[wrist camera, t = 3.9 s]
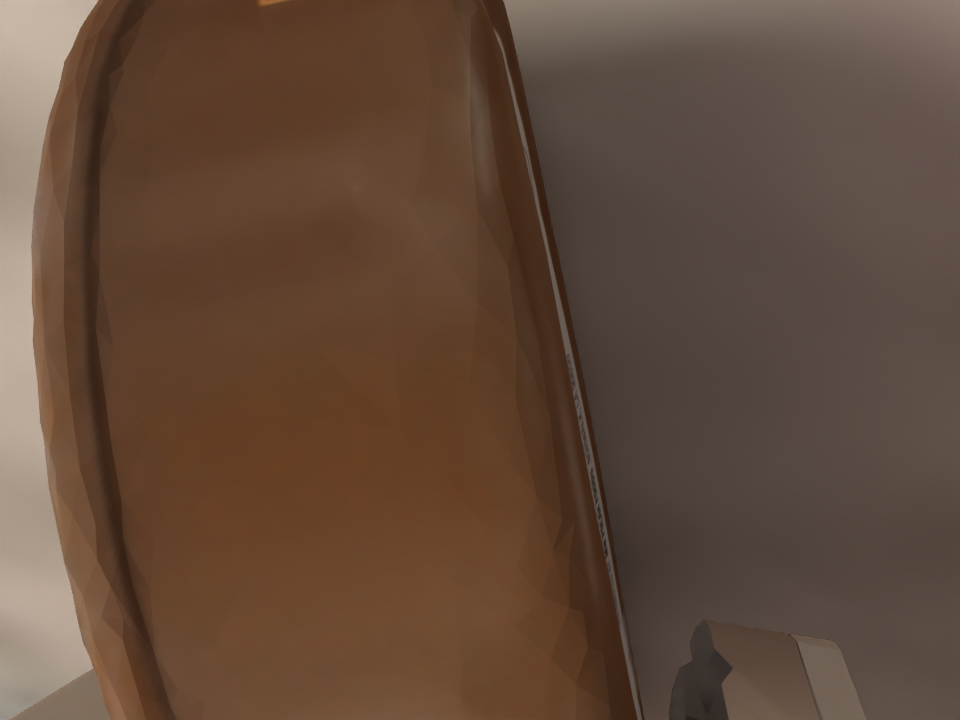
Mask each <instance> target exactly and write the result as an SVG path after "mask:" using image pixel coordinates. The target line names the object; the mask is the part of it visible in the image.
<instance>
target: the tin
mask: <svg viewBox="0 0 960 720" xmlns="http://www.w3.org/2000/svg"><path fill="white" fill-rule="evenodd" d="M33 214H34V215H33V230H32V244H31V249H32V306H33V315H34V327H33V347H34V355H35V364H36V372H37V380H38V394H39V409H40V423H41V428H42V432H43V436H44V445H45V454H46V463H47V473H48V482H49V489H50V494H51V499H52V504H53V509H54V514H55V519H56V523H57V528H58V533H59V538H60V543H61V548H62V553H63V557H64V562H65V566H66V569H67V573H68V577H69V580H70V584H71V589H72V594H73V599H74V604H75V609H76V613H77V618H78V623H79V627H80V631H81V636H82V640H83V643H84V646H85V648H86V650H87V652H88V654H89V656H90V659H91V662H92V665H93V667H94V670H95V673H96V676H97V679H98V683H99V688H100V692H101V697H102V701H103V704H104V706H105V708H106V710H107V713H108V715H109V717H110V720H644V714H643V709H642V703H641V698H640V692H639V687H638V681H637V676H636V671H635V666H634V661H633V656H632V650H631V645H630V639H629V634H628V628H627V623H626V617H625V611H624V606H623V600H622V594H621V589H620V583H619V577H618V571H617V565H616V559H615V553H614V546H613V540H612V534H611V528H610V523H609V517H608V511H607V505H606V499H605V494H604V488H603V482H602V476H601V470H600V465H599V459H598V454H597V448H596V443H595V437H594V432H593V426H592V421H591V416H590V410H589V405H588V400H587V395H586V390H585V385H584V380H583V375H582V369H581V364H580V359H579V354H578V349H577V344H576V339H575V334H574V329H573V324H572V320H571V315H570V310H569V305H568V300H567V295H566V291H565V286H564V281H563V276H562V271H561V267H560V262H559V257H558V252H557V248H556V243H555V239H554V234H553V230H552V225H551V220H550V215H549V210H548V205H547V200H546V195H545V190H544V185H543V180H542V175H541V170H540V165H539V160H538V155H537V150H536V146H535V141H534V136H533V131H532V126H531V121H530V116H529V111H528V106H527V101H526V97H525V92H524V87H523V82H522V77H521V72H520V68H519V63H518V59H517V54H516V50H515V45H514V41H513V37H512V33H511V29H510V25H509V21H508V17H507V13H506V9H505V5H504V2H503V0H99V1H98V2H97V4H96V5H95V7H94V8H93V10H92V11H91V13H90V14H89V16H88V17H87V19H86V20H85V22H84V23H83V25H82V27H81V28H80V31H79V33H78V35H77V38H76V40H75V43H74V45H73V47H72V50H71V51H70V53H69V55H68V57H67V58H66V60H65V62H64V67H63V72H62V76H61V81H60V86H59V89H58V92H57V95H56V98H55V101H54V104H53V107H52V110H51V113H50V116H49V120H48V125H47V130H46V135H45V140H44V144H43V150H42V157H41V164H40V171H39V178H38V185H37V191H36V198H35V205H34V211H33Z"/></svg>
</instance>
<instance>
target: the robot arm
mask: <svg viewBox="0 0 960 720" xmlns="http://www.w3.org/2000/svg"><path fill="white" fill-rule="evenodd" d="M690 647H691V653H692V659H693V661H691V662H690V663H688V664H686V665H685V666H683V667H682V668H680V669H679V672H678V675H677V678H676V681H675V684H674V686H673V690H672V697H671V704H670V711H669V720H867V719H866V716H865V714H864V711H863V708H862V706H861V703H860V700H859V698H858V695H857V692H856V690H855V687H854V684H853V682H852V679H851V676H850V674H849V671H848V668H847V666H846V663H845V660H844V658H843V655H842V652H841V650H840V648H839V647H838V646H837V645H836V643H835V642H834V641H833V640H826V639H820V638H814V637H807V636H801V635H795V634H785V633H782V632H775V631H769V630H763V629H757V628H750V627H744V626H738V625H731V624H725V623H719V622H713V621H706V620H702V621H701V622H700V623H699V624H698V626H697V627H696V629H695V631H694V633H693V636H692V638H691V641H690ZM10 720H110V717H109V715H108V713H107V710H106V708H105V706H104V704H103V701H102V697H101V692H100V688H99V683H98V679H97V676H96V673H95V670H94V668H93V669H91V670H90V671H88V672H86V673H85V674H83V675H82V676H80V677H78V678H77V679H75V680H73V681H72V682H70V683H69V684H67V685H65V686H64V687H62V688H60V689H59V690H57V691H56V692H54V693H52V694H51V695H49V696H47V697H46V698H44V699H43V700H41V701H39V702H38V703H36V704H34V705H33V706H31V707H30V708H28V709H26V710H25V711H23V712H21V713H20V714H18V715H17V716H15V717H13V718H12V719H10Z"/></svg>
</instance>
